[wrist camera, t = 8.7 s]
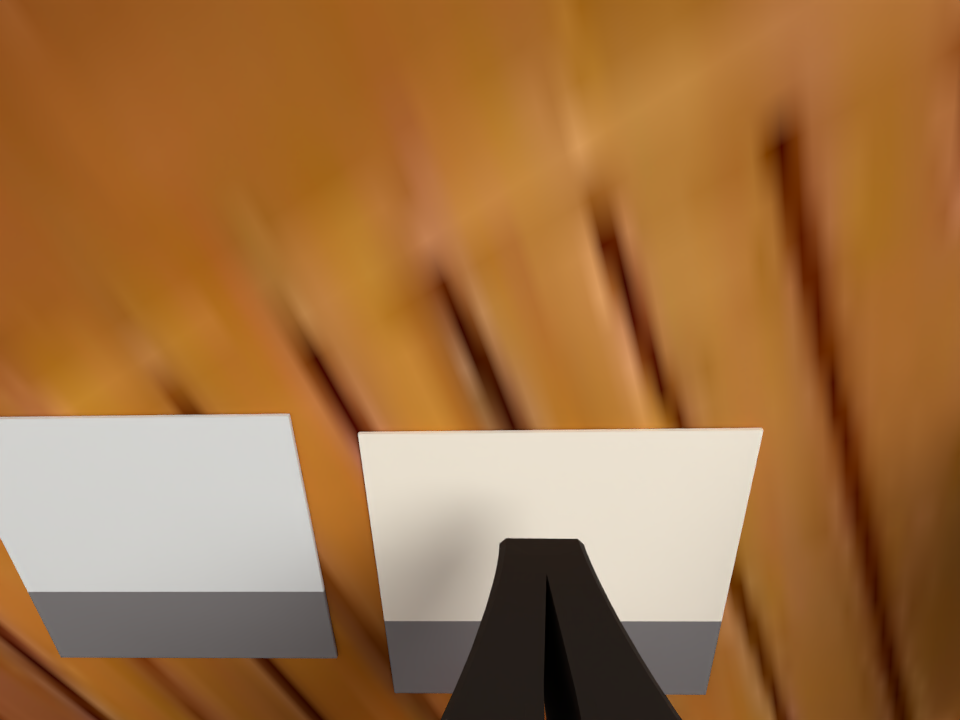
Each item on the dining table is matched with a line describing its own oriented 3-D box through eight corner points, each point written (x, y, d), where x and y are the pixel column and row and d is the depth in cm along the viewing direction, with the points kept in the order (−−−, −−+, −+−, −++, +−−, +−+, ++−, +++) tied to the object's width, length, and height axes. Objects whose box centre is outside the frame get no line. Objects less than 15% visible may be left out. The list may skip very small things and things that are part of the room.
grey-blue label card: (289, 413, 13) (288, 416, 13) (337, 655, 17) (337, 658, 17) (-56, 417, 13) (-60, 419, 13) (63, 654, 17) (61, 657, 17)
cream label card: (761, 427, 13) (763, 429, 13) (704, 691, 17) (705, 694, 17) (358, 431, 13) (358, 434, 13) (395, 689, 17) (394, 693, 17)
